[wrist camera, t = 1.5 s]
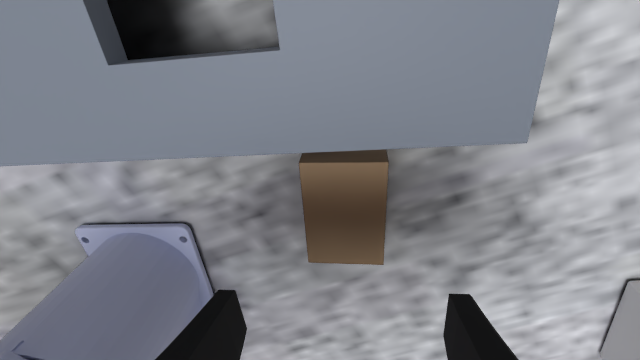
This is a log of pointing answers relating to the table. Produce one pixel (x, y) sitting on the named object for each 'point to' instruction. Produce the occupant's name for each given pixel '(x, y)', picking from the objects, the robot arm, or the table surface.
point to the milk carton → (625, 327)
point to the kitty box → (272, 82)
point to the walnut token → (345, 205)
